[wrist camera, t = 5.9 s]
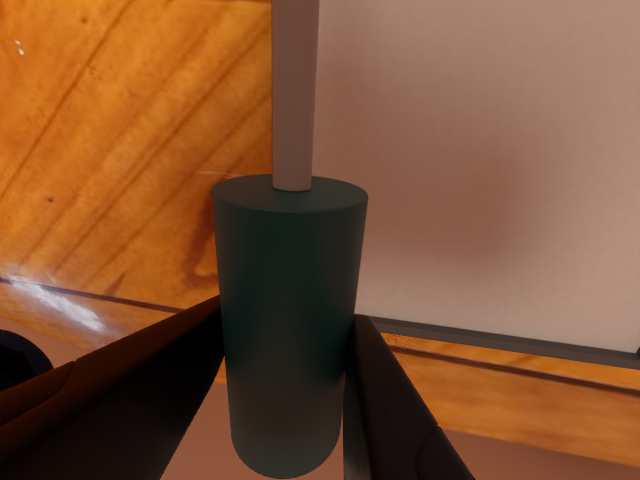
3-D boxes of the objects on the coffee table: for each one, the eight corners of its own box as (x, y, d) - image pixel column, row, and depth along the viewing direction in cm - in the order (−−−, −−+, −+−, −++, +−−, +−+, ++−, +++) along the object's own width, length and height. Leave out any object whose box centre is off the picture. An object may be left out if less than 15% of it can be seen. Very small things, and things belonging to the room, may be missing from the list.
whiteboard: (630, 352, 16) (652, 372, 15) (278, 303, 19) (272, 317, 18) (1002, -282, 8) (1121, -357, 7) (281, -226, 10) (269, -274, 9)
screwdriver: (348, 389, 10) (326, 497, 7) (260, 367, 11) (207, 458, 8) (436, -294, 5) (492, -997, 2) (245, -253, 5) (52, -709, 2)
